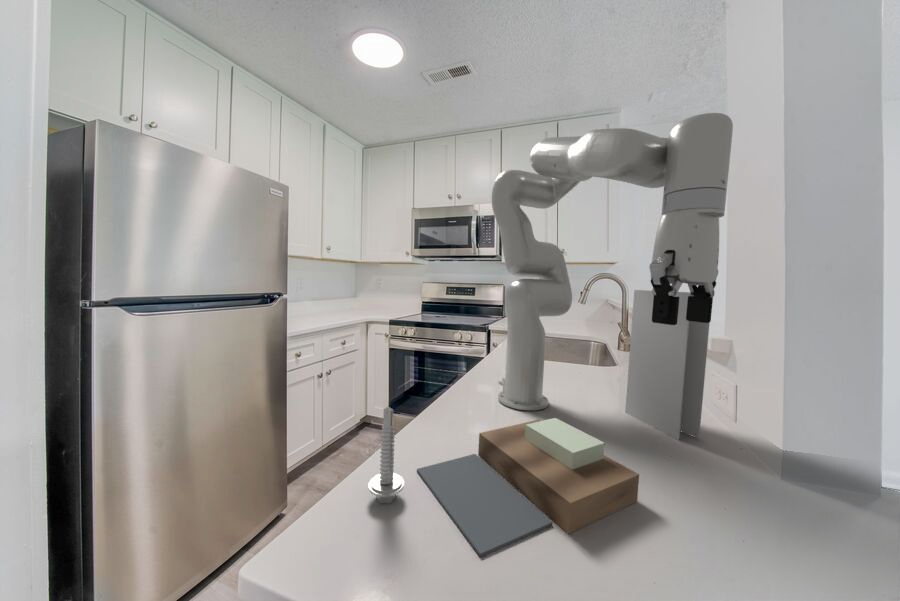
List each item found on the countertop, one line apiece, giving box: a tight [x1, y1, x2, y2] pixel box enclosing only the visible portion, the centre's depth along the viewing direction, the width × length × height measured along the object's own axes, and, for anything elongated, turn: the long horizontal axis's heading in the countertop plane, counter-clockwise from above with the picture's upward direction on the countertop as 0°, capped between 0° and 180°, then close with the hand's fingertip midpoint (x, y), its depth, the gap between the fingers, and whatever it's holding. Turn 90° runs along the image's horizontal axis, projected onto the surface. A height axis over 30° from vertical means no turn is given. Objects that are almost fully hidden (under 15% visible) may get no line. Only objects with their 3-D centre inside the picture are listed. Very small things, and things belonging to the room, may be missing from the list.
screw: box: [367, 406, 405, 504], centre depth 45 cm, size 13×5×5 cm
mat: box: [416, 453, 553, 558], centre depth 47 cm, size 18×11×1 cm, turn 29°
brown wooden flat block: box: [477, 419, 640, 535], centre depth 52 cm, size 20×14×4 cm
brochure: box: [624, 289, 711, 441], centre depth 73 cm, size 14×6×30 cm, turn 14°
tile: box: [525, 417, 605, 469], centre depth 53 cm, size 10×7×2 cm
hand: (681, 322), depth 49 cm, fingers open, 9 cm apart
